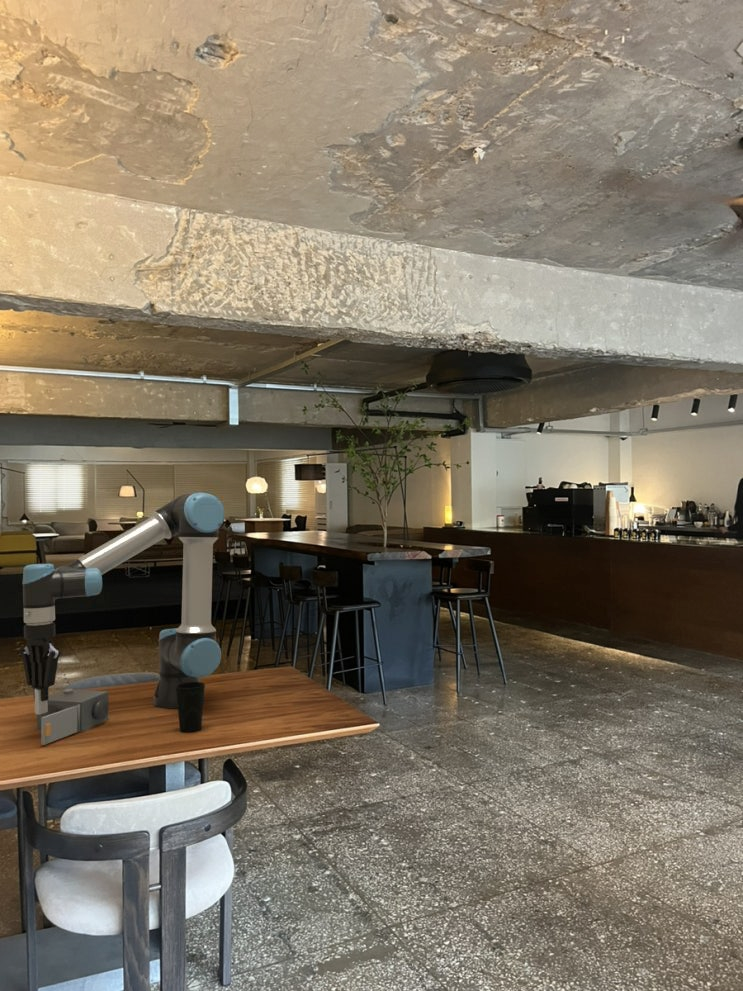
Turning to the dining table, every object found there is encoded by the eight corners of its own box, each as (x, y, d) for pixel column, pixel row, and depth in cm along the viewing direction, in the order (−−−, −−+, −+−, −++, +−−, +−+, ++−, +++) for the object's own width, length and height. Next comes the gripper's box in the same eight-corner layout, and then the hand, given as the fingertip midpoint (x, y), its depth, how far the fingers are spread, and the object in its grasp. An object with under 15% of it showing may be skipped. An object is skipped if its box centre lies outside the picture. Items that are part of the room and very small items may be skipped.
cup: (178, 735, 190) (177, 689, 190) (173, 727, 197) (173, 683, 197) (207, 731, 193) (207, 686, 193) (202, 724, 200) (202, 680, 200)
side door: (74, 731, 193) (74, 706, 193) (78, 732, 192) (78, 706, 192) (41, 744, 182) (41, 717, 182) (45, 745, 181) (45, 717, 182)
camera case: (113, 720, 205) (113, 689, 205) (84, 733, 192) (84, 700, 192) (66, 717, 209) (65, 686, 209) (34, 730, 196) (34, 697, 196)
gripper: (10, 624, 189) (11, 714, 188) (44, 626, 183) (46, 719, 183) (34, 619, 196) (36, 706, 195) (68, 621, 190) (70, 711, 189)
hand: (41, 712), depth 189 cm, fingers closed
